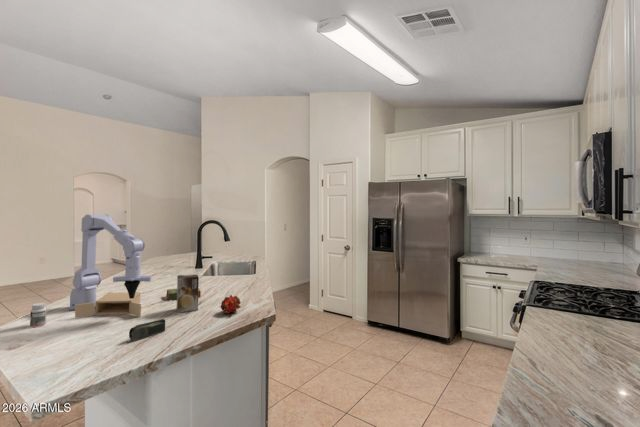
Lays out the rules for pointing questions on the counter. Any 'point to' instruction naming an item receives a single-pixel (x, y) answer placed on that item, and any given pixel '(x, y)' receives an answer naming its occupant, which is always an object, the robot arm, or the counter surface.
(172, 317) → the counter surface
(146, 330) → the mobile phone
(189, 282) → the coffee box
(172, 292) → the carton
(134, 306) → the right flap
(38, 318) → the pill bottle
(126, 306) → the cardboard box
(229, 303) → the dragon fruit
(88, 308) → the left flap
